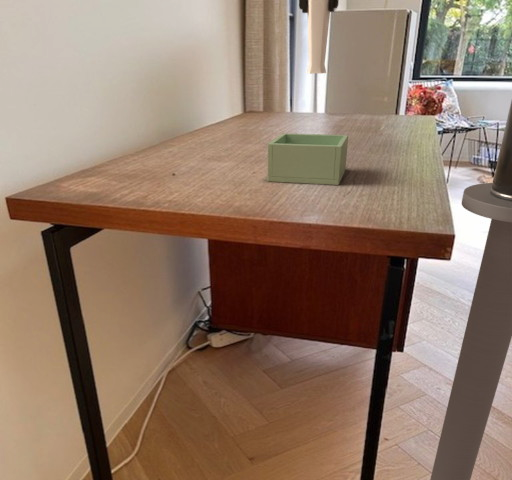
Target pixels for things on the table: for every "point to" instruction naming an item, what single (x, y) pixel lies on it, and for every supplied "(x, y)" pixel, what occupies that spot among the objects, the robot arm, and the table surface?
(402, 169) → the table surface
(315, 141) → the bin
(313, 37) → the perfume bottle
